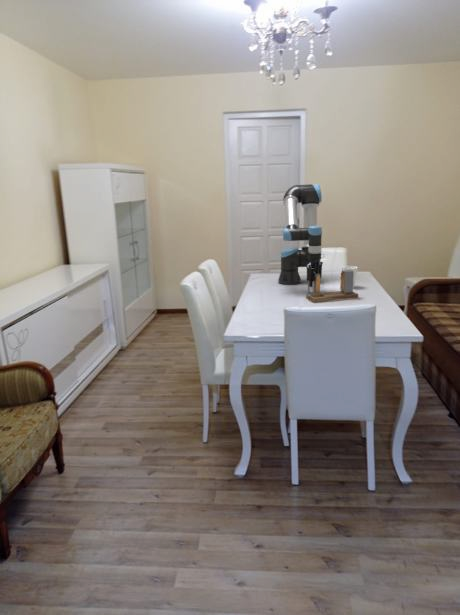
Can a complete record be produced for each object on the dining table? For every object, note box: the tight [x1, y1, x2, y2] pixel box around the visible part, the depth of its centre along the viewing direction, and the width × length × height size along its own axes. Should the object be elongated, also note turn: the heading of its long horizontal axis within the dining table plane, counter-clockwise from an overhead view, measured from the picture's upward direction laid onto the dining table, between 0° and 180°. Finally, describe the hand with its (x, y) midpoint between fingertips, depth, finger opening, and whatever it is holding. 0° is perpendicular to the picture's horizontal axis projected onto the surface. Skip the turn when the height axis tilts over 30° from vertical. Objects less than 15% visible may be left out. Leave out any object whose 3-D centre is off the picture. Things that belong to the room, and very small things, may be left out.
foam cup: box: [341, 265, 359, 289], centre depth 274 cm, size 10×9×13 cm
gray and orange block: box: [307, 272, 321, 294], centre depth 260 cm, size 4×6×13 cm, turn 43°
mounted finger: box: [339, 270, 354, 294], centre depth 251 cm, size 4×6×13 cm, turn 103°
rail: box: [305, 290, 359, 304], centre depth 251 cm, size 10×28×2 cm, turn 103°
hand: (313, 290), depth 261 cm, fingers closed on gray and orange block, 4 cm apart
